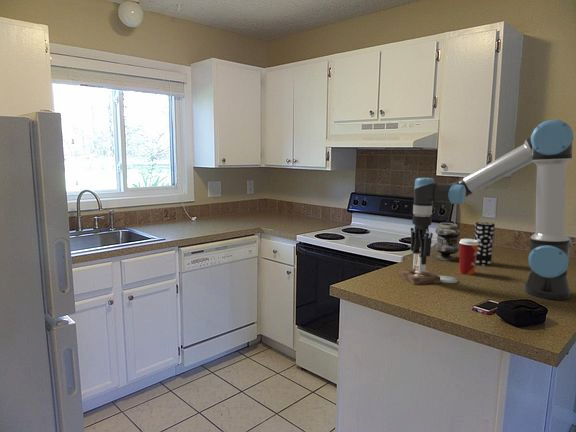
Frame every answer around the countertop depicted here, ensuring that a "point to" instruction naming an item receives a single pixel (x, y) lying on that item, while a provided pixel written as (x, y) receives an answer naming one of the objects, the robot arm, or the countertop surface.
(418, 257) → the candle
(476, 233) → the spotted tube
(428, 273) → the holder
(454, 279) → the coaster
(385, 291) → the countertop surface
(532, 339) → the countertop surface
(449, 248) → the apothecary jar
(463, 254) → the coffee cup
